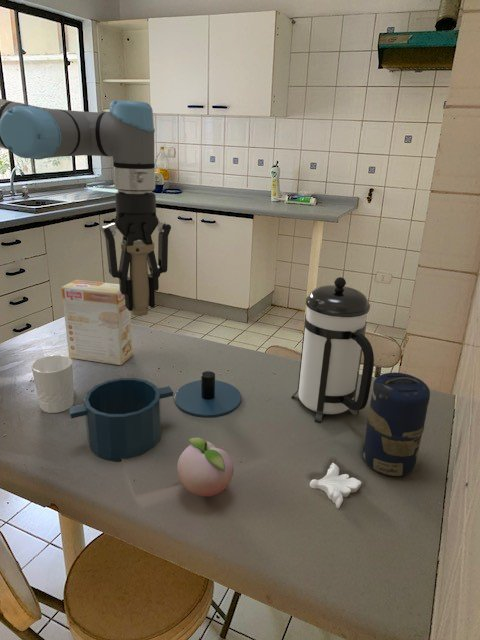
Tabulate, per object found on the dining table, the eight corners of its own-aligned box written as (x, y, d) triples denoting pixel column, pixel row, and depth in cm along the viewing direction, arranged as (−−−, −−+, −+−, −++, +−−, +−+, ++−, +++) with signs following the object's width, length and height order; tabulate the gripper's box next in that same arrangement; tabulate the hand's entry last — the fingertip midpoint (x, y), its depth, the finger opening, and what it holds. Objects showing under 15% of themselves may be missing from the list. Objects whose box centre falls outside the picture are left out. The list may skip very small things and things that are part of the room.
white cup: (41, 419, 95) (35, 375, 91) (34, 400, 101) (28, 359, 97) (81, 408, 99) (76, 367, 95) (71, 391, 105) (67, 352, 101)
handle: (125, 310, 98) (121, 240, 93) (155, 309, 100) (154, 240, 94) (124, 318, 94) (120, 245, 88) (156, 317, 95) (154, 246, 90)
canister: (418, 484, 81) (438, 395, 74) (362, 476, 82) (378, 388, 76) (409, 450, 90) (427, 368, 83) (359, 443, 91) (372, 362, 84)
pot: (68, 430, 91) (63, 388, 88) (161, 409, 100) (160, 370, 96) (80, 473, 80) (75, 427, 77) (183, 445, 88) (183, 402, 85)
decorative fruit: (166, 492, 77) (164, 442, 73) (201, 468, 83) (201, 420, 79) (206, 522, 71) (207, 470, 67) (241, 494, 77) (243, 444, 73)
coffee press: (279, 416, 99) (290, 282, 87) (303, 384, 112) (315, 263, 101) (360, 440, 92) (384, 298, 81) (375, 402, 105) (397, 276, 94)
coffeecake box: (133, 354, 123) (130, 284, 116) (121, 366, 117) (116, 293, 109) (82, 347, 126) (76, 278, 119) (68, 358, 120) (60, 286, 112)
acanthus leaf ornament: (331, 467, 84) (333, 459, 84) (364, 488, 80) (365, 479, 79) (305, 486, 79) (306, 477, 79) (338, 509, 75) (340, 500, 74)
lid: (165, 391, 106) (164, 365, 104) (223, 379, 113) (224, 354, 110) (188, 426, 94) (188, 398, 92) (252, 410, 101) (254, 383, 98)
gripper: (93, 194, 81) (102, 319, 89) (184, 192, 88) (185, 307, 97) (84, 189, 87) (94, 306, 95) (171, 188, 94) (172, 296, 103)
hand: (140, 306), depth 96 cm, fingers closed on handle, 4 cm apart
